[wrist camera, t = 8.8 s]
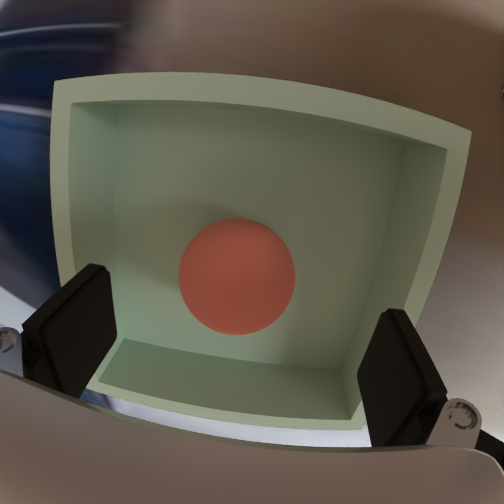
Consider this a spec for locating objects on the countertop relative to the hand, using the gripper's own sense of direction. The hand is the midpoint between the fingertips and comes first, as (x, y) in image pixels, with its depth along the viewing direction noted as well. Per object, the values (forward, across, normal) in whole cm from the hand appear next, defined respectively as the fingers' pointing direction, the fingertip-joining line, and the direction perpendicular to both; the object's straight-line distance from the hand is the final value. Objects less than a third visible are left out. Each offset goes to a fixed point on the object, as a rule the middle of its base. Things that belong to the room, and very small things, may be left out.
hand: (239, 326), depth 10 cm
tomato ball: (+4, 0, 0) cm, 4 cm away
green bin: (+7, +1, 0) cm, 7 cm away
